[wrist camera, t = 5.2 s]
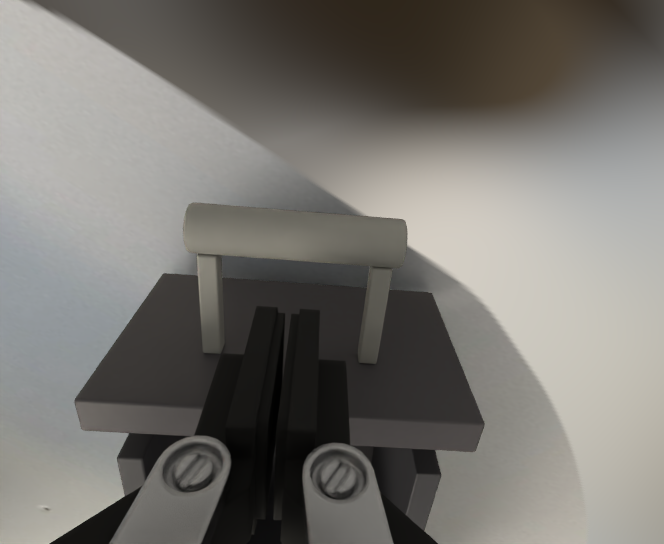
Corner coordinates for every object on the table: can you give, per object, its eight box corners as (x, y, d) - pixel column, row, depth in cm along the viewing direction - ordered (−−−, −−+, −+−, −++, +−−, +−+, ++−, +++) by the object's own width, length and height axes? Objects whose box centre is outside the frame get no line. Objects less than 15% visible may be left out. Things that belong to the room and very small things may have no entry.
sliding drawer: (150, 154, 16) (28, 232, 9) (457, 180, 16) (540, 271, 10) (185, 482, 25) (135, 640, 18) (386, 493, 25) (406, 650, 19)
